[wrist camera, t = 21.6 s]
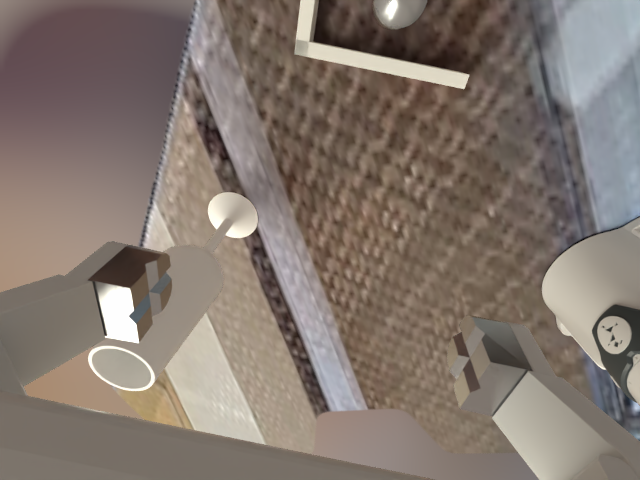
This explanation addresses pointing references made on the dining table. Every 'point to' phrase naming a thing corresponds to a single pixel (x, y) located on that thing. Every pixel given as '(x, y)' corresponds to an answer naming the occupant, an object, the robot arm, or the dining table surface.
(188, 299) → the champagne flute
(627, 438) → the robot arm
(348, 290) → the dining table surface
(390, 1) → the steel part
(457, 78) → the frame
